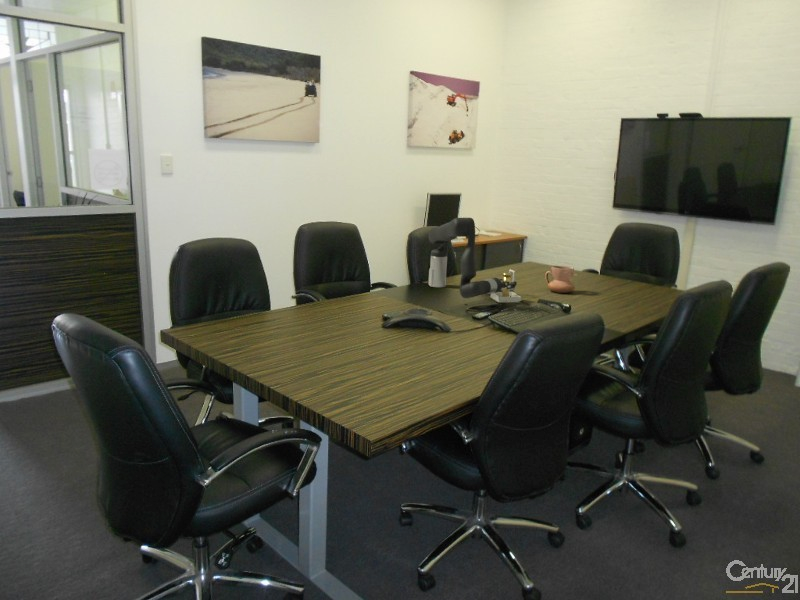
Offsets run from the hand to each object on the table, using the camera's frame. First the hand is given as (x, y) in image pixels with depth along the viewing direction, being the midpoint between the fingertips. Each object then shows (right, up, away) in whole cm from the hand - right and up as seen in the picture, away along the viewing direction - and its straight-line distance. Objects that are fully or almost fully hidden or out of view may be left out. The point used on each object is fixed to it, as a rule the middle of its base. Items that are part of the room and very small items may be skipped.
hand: (508, 282), depth 306 cm
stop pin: (-2, -8, 0) cm, 8 cm away
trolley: (-1, -7, +11) cm, 13 cm away
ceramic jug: (+33, -5, +26) cm, 42 cm away
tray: (-2, -9, +1) cm, 9 cm away
